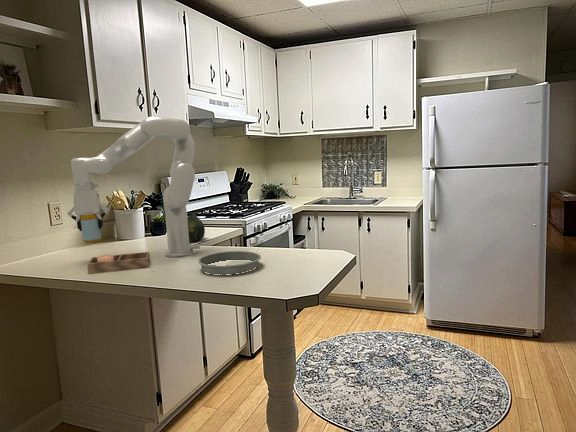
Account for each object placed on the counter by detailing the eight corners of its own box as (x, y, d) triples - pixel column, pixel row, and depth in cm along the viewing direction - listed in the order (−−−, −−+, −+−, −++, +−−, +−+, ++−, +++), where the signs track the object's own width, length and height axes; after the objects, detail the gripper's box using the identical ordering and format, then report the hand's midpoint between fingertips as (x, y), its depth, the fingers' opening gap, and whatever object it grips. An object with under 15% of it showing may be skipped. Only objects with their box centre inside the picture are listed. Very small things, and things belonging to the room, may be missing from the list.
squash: (168, 234, 224) (186, 211, 223) (175, 230, 239) (192, 208, 238) (190, 251, 225) (208, 229, 224) (196, 246, 240) (213, 225, 239)
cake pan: (245, 279, 159) (244, 267, 158) (186, 275, 167) (185, 264, 166) (271, 262, 181) (270, 251, 181) (218, 259, 190) (217, 249, 189)
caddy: (150, 263, 188) (149, 251, 187) (148, 270, 177) (147, 257, 176) (93, 269, 183) (92, 257, 182) (88, 276, 172) (87, 263, 171)
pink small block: (115, 266, 182) (114, 254, 181) (113, 269, 176) (112, 257, 175) (99, 267, 180) (98, 255, 180) (97, 271, 175) (95, 259, 174)
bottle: (90, 243, 183) (85, 208, 180) (80, 243, 187) (74, 207, 184) (105, 240, 189) (100, 205, 186) (94, 239, 192) (89, 205, 190)
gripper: (108, 185, 190) (113, 225, 192) (64, 188, 185) (70, 230, 188) (105, 186, 182) (111, 228, 185) (59, 190, 178) (66, 233, 181)
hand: (90, 229), depth 187 cm, fingers closed on bottle, 7 cm apart
